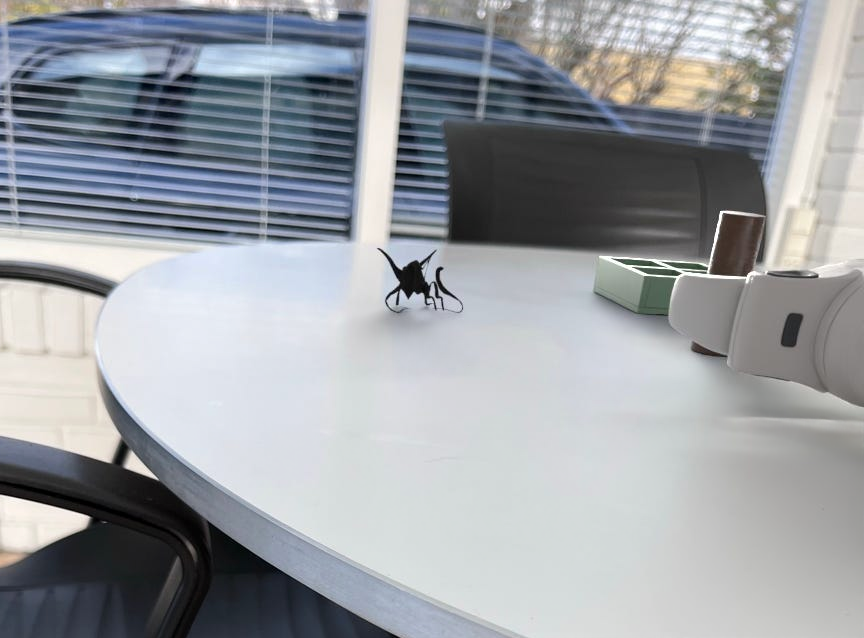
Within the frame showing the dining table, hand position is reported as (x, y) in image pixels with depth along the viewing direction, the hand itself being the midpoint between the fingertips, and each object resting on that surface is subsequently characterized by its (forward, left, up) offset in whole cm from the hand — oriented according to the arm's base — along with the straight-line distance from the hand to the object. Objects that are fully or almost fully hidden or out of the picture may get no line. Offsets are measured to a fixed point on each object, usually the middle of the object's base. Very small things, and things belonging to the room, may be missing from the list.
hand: (758, 292), depth 84 cm
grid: (-6, -27, -6) cm, 28 cm away
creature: (+23, -17, -6) cm, 29 cm away
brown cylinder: (0, -5, -6) cm, 8 cm away
